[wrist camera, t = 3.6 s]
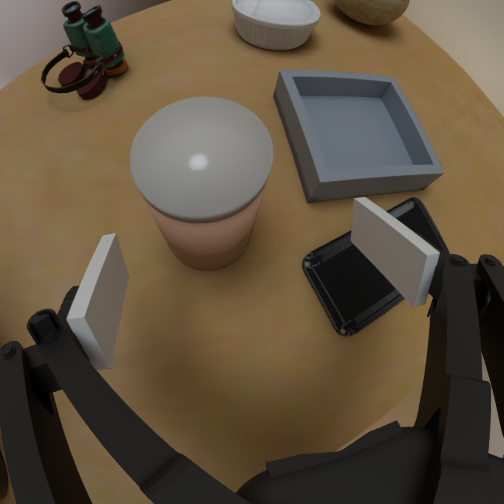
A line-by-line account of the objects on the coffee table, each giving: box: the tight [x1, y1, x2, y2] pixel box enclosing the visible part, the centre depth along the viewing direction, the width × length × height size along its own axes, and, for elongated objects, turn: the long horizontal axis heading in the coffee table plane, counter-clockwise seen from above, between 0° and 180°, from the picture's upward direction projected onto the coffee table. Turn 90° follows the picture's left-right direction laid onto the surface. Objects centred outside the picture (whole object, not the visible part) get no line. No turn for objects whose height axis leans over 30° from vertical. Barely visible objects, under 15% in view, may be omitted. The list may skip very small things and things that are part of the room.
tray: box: [274, 70, 444, 203], centre depth 28 cm, size 14×13×4 cm
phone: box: [302, 197, 450, 336], centre depth 26 cm, size 8×1×15 cm
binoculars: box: [41, 1, 128, 99], centre depth 24 cm, size 9×11×10 cm
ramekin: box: [232, 0, 321, 50], centre depth 31 cm, size 11×11×5 cm
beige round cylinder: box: [130, 97, 274, 271], centre depth 20 cm, size 7×7×12 cm
